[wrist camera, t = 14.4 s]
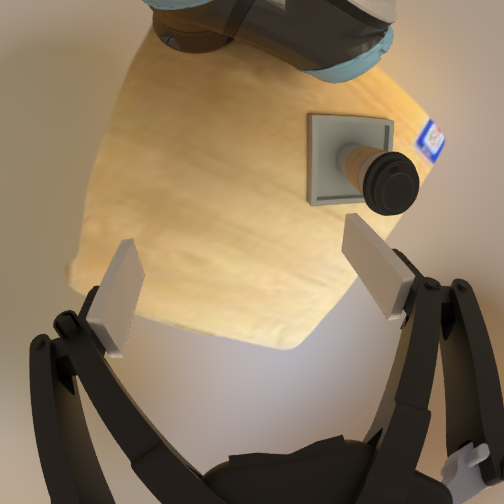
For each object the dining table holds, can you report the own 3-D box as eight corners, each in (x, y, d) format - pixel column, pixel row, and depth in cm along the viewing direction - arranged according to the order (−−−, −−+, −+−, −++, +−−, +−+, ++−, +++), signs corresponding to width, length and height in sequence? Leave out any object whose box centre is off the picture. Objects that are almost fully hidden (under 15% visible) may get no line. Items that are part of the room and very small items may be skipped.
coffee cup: (350, 123, 41) (401, 140, 28) (381, 158, 45) (432, 186, 32) (316, 162, 44) (356, 193, 32) (350, 193, 48) (393, 232, 36)
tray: (307, 114, 40) (312, 115, 38) (386, 119, 41) (394, 121, 39) (306, 201, 49) (311, 206, 47) (380, 196, 50) (386, 201, 48)
